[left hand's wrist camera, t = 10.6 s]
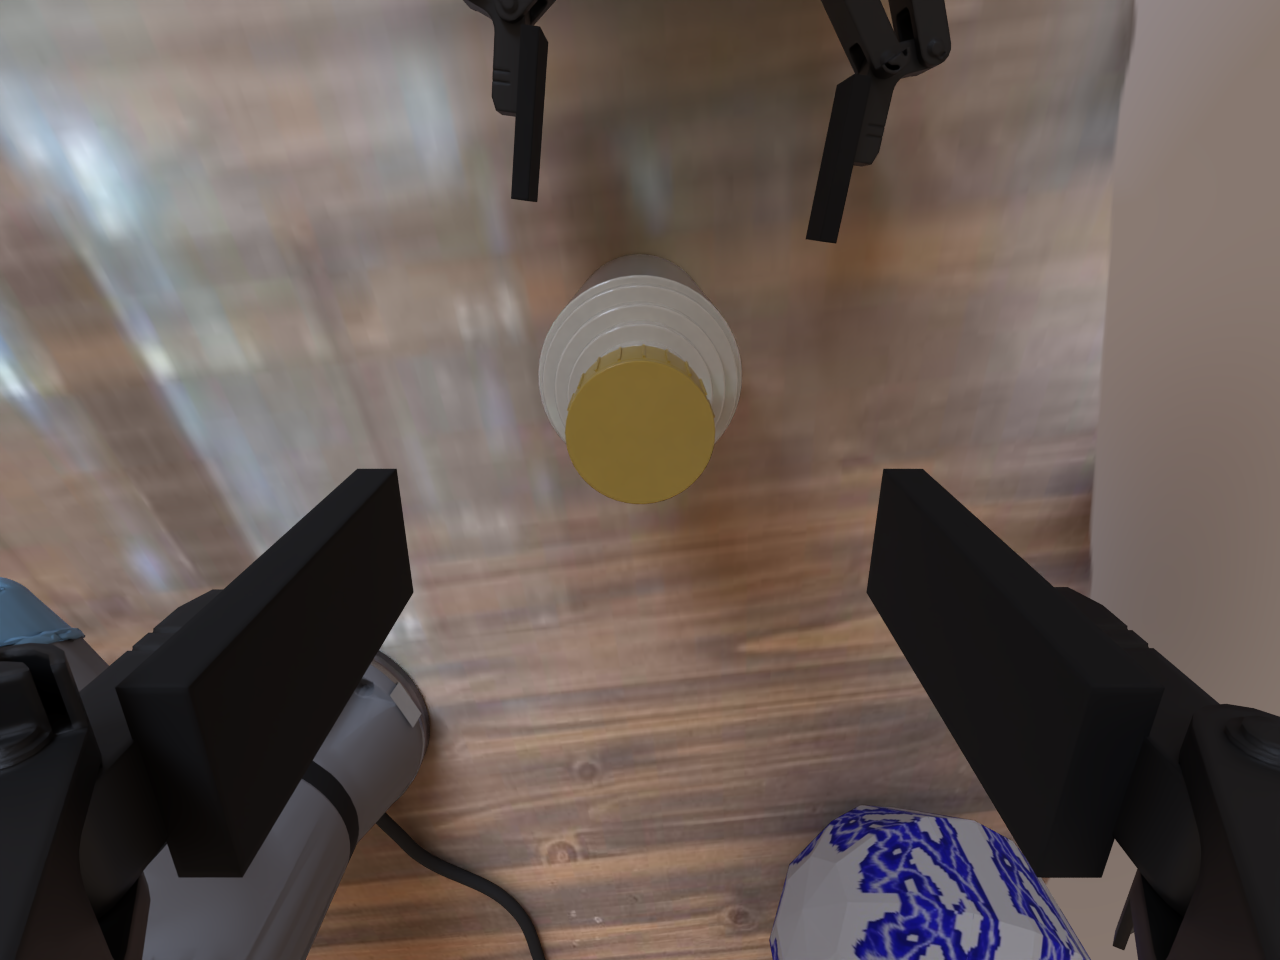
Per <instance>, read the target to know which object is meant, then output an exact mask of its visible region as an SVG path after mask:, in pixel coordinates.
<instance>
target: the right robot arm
mask: <svg viewBox="0 0 1280 960" xmlns="http://www.w3.org/2000/svg"><path fill="white" fill-rule="evenodd" d="M463 1H464V2H465V3H466V4H467V5H468V6H469V7H470V8H471V9H473V10H475V11H478V12H480V13H482V14H484V15H485V16H487V17H489V18H490V19H492V21H493V24H494V30H495V35H494V58H493V82H492V99H493V102H494V105H495V109H496V111H498V112H499V113H500V114H502V115H507V116H514V117H516V122H515V140H514V157H513V175H512V193H511V199H517V200H524V201H532V202H537V198H538V183H539V169H540V154H541V140H542V125H543V111H544V96H545V82H546V67H547V53H548V41H547V39H546V37H545V35H544V34H543V32H542V30H541V28H540V27H539V26H533V25H534V24H535V23H536V22H537V21H538V20H539V19H540V18H541V16H542V15H543V14H544V13H545V12H546V11H547V10H548V9H549V7H550V6H551V5H552V4H553V3H554V2H555V1H556V0H463ZM821 1H822V4H823V6H824V8H825V10H826V12H827V14H828V16H829V19H830V21H831V23H832V25H833V27H834V29H835V31H836V34H837V36H838V38H839V40H840V42H841V44H842V46H843V49H844V51H845V53H846V55H847V57H848V59H849V61H850V64H851V66H852V68H853V70H854V72H855V74H854V75H852V76H851V77H849V78H847V79H846V80H844V81H843V82H841V83H840V84H838V85H837V88H836V93H835V98H834V103H833V108H832V112H831V117H830V122H829V127H828V132H827V137H826V142H825V147H824V152H823V157H822V162H821V167H820V171H819V176H818V181H817V186H816V191H815V196H814V201H813V206H812V211H811V216H810V221H809V225H808V230H807V235H806V239H809V240H815V241H822V242H830V243H836V242H837V237H838V233H839V228H840V223H841V219H842V214H843V210H844V205H845V201H846V196H847V192H848V187H849V182H850V178H851V173H852V169H853V165H856V166H866V165H870V164H872V163H873V161H874V159H875V158H876V156H877V155H878V153H879V150H880V145H881V141H882V136H883V132H884V126H885V123H886V119H887V115H888V110H889V106H890V102H891V97H892V93H893V90H894V87H895V85H896V83H897V82H898V81H899V80H900V79H901V78H905V77H909V76H917V75H919V74H921V73H923V72H925V71H927V70H929V69H931V68H933V67H935V66H937V65H939V64H941V63H942V62H944V61H945V60H946V58H947V57H948V56H949V53H950V50H951V40H950V34H949V28H948V21H947V15H946V9H945V2H944V0H888V1H889V6H890V11H891V17H892V22H893V28H894V31H893V28H892V26H891V24H890V22H889V19H888V17H887V15H886V12H885V10H884V8H883V6H882V3H881V1H880V0H821Z"/></svg>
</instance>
